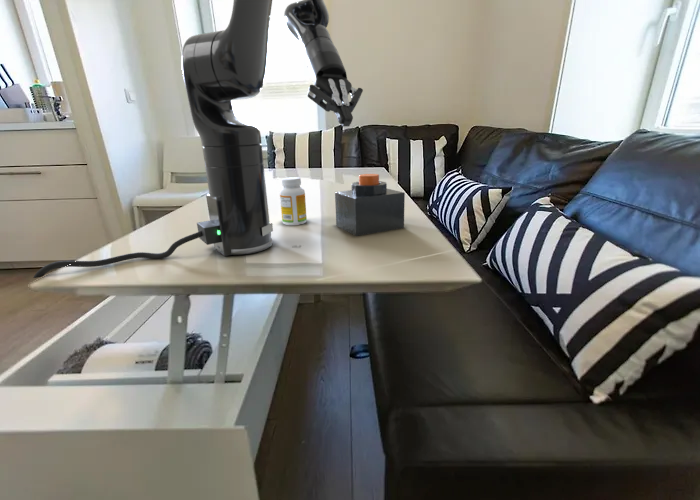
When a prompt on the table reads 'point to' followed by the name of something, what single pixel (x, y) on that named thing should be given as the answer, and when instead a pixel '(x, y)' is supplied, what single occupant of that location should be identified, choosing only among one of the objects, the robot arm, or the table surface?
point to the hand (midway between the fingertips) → (347, 123)
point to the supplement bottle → (293, 202)
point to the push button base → (369, 209)
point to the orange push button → (368, 179)
